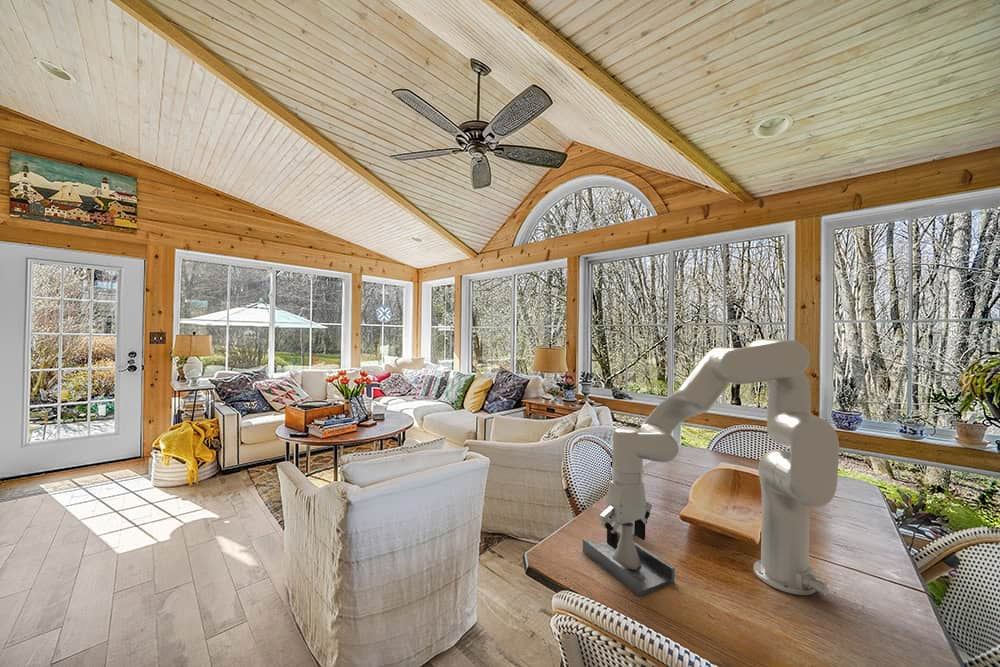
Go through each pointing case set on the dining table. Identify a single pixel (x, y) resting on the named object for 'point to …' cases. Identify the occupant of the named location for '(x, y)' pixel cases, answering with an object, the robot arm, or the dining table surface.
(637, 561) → the flask
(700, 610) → the dining table surface
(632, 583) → the track
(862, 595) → the dining table surface
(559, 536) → the dining table surface
